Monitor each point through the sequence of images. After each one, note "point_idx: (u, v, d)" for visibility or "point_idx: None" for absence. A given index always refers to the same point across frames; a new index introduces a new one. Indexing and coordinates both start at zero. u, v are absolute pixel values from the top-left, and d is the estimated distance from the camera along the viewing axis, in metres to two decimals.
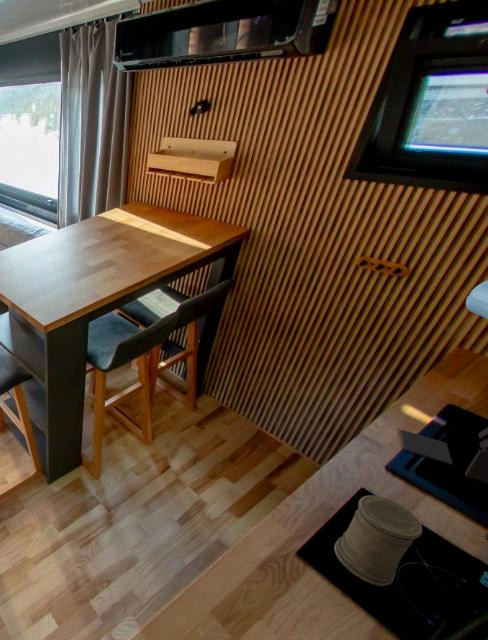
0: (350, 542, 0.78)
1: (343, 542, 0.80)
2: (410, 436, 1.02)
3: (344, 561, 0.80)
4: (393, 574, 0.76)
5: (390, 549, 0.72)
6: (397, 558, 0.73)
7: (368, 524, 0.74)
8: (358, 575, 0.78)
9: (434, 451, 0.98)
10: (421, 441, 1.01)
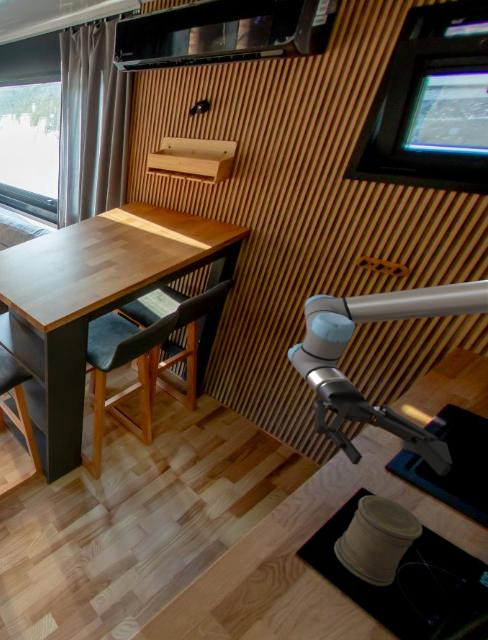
0: (350, 542, 0.78)
1: (343, 542, 0.80)
2: None
3: (344, 561, 0.80)
4: (394, 574, 0.76)
5: (390, 550, 0.72)
6: (397, 558, 0.73)
7: (368, 524, 0.74)
8: (358, 575, 0.78)
9: None
10: None
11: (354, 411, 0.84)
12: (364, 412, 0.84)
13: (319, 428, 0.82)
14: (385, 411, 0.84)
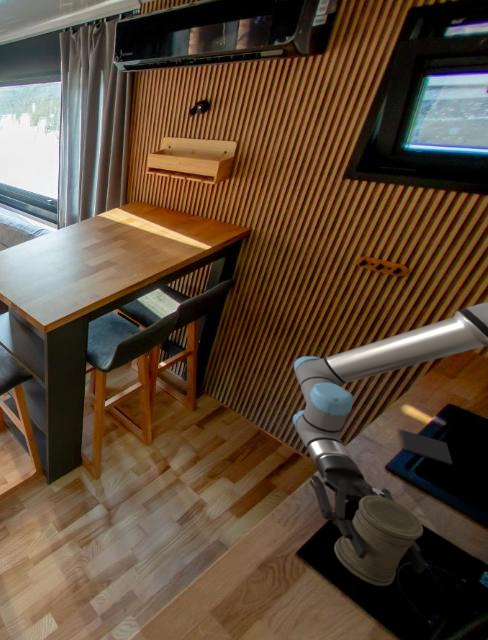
0: (350, 542, 0.78)
1: (343, 542, 0.80)
2: (410, 436, 1.02)
3: (344, 561, 0.80)
4: (394, 574, 0.76)
5: (390, 550, 0.72)
6: (397, 558, 0.73)
7: (369, 524, 0.73)
8: (358, 575, 0.78)
9: (434, 451, 0.98)
10: (421, 441, 1.01)
11: (349, 489, 0.84)
12: (359, 491, 0.83)
13: (328, 515, 0.81)
14: (383, 495, 0.82)
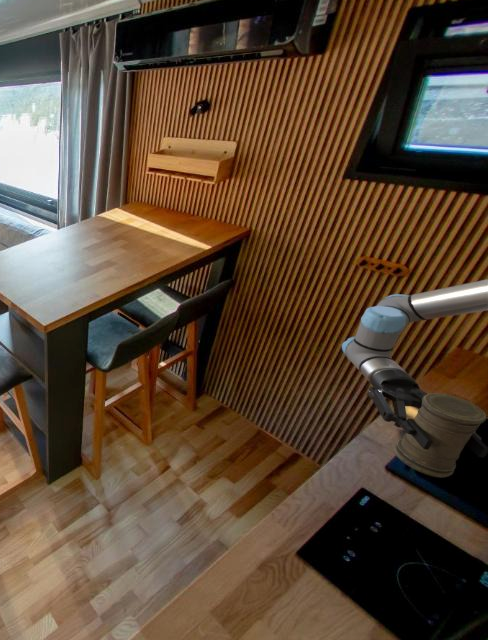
0: (412, 439, 0.84)
1: (404, 441, 0.86)
2: None
3: (405, 459, 0.86)
4: (454, 465, 0.82)
5: (454, 438, 0.78)
6: (460, 446, 0.79)
7: (433, 416, 0.79)
8: (420, 469, 0.84)
9: None
10: None
11: (406, 396, 0.90)
12: (417, 397, 0.89)
13: (390, 417, 0.87)
14: None
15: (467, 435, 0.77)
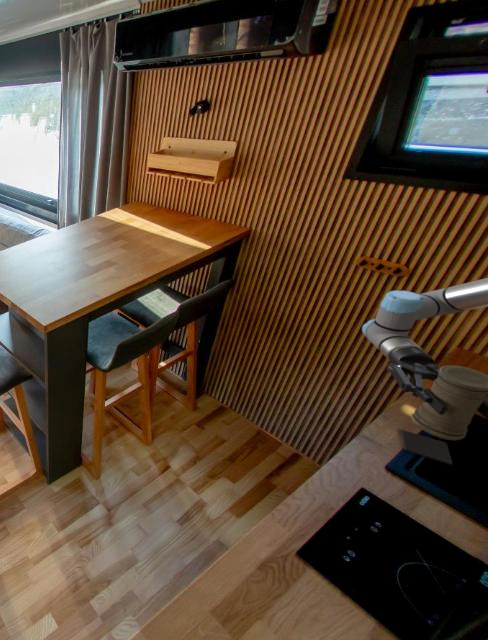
0: (429, 406, 0.94)
1: (421, 409, 0.96)
2: (410, 436, 1.02)
3: (422, 425, 0.96)
4: (466, 429, 0.92)
5: (467, 404, 0.88)
6: (472, 412, 0.89)
7: (448, 385, 0.89)
8: (435, 433, 0.94)
9: (434, 451, 0.98)
10: (421, 441, 1.01)
11: (423, 370, 1.00)
12: (432, 371, 0.99)
13: (408, 387, 0.96)
14: None
15: (478, 401, 0.87)
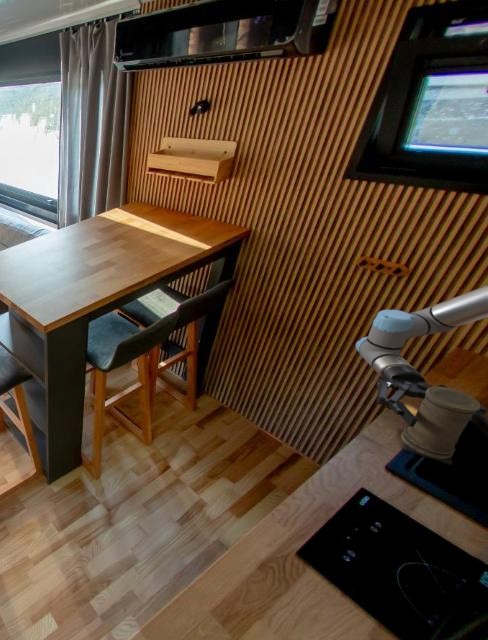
0: (417, 426, 0.97)
1: (410, 429, 0.99)
2: None
3: (411, 444, 0.99)
4: (453, 449, 0.95)
5: (453, 424, 0.91)
6: (458, 432, 0.92)
7: (435, 406, 0.93)
8: (424, 452, 0.97)
9: None
10: None
11: (414, 388, 1.03)
12: (423, 389, 1.02)
13: (381, 400, 1.02)
14: None
15: (464, 422, 0.90)
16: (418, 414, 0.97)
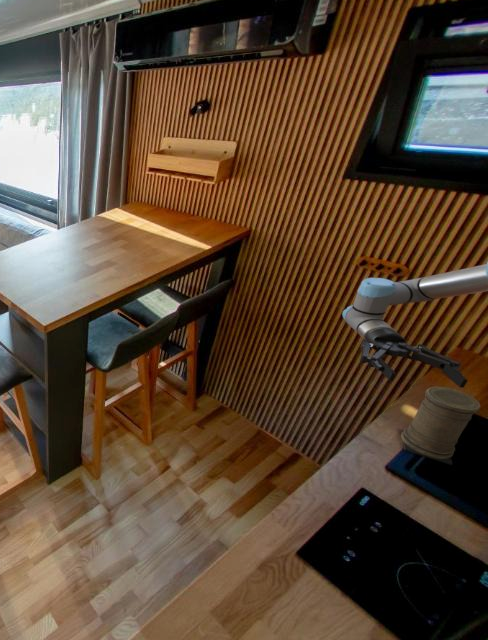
0: (417, 426, 0.97)
1: (410, 429, 0.99)
2: None
3: (411, 444, 0.99)
4: (453, 449, 0.95)
5: (453, 424, 0.91)
6: (458, 432, 0.92)
7: (435, 406, 0.93)
8: (424, 452, 0.97)
9: None
10: None
11: (394, 348, 1.10)
12: (403, 349, 1.09)
13: (364, 358, 1.09)
14: (421, 348, 1.09)
15: (464, 422, 0.90)
16: (418, 414, 0.97)
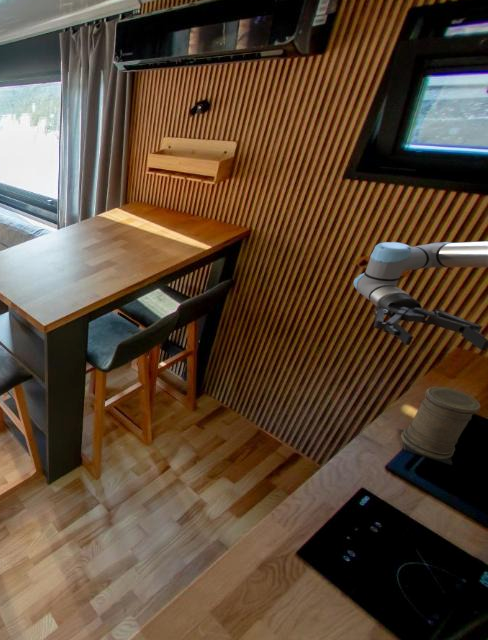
0: (417, 426, 0.97)
1: (410, 429, 0.99)
2: None
3: (411, 444, 0.99)
4: (453, 449, 0.95)
5: (453, 424, 0.91)
6: (458, 432, 0.92)
7: (435, 406, 0.93)
8: (424, 452, 0.97)
9: None
10: None
11: (410, 313, 1.05)
12: (419, 313, 1.04)
13: (378, 324, 1.04)
14: (438, 313, 1.03)
15: (464, 422, 0.90)
16: (418, 414, 0.97)
